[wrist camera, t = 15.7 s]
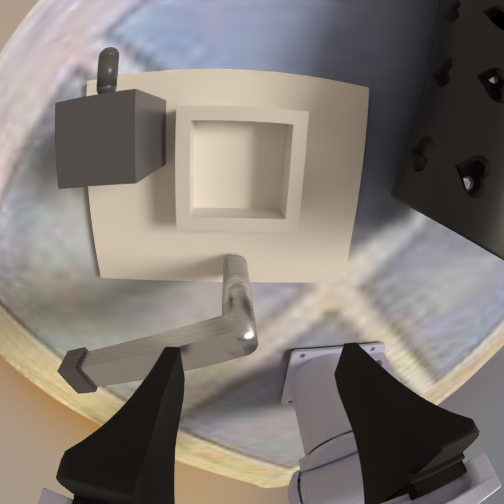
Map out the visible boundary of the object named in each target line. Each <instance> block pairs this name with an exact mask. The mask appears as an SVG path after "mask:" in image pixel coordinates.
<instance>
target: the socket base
mask: <svg viewBox="0 0 504 504" xmlns="http://www.w3.org/2000/svg"><path fill="white" fill-rule="evenodd" d="M96 87H97V79H95V80H90V81H87V93H86V96H91V95H96V94H98V93H97V90H96ZM130 89H138V90H141V91H143V92H146V93H149V94H151V95H154V96H157V97H159V98H162V99H164V100H166V165H164V166H162V167H161V168H159V169H158V170H156V171H154V172H153V173H151V174H150V175H148V176H147V177H145V178H144V179H142V180H141V181H139V182H138V183H136V184H117V185H101V186H88V193H89V203H90V212H91V220H92V228H93V235H94V242H95V248H96V254H97V259H98V265H99V270H100V275H101V278H112V279H135V280H163V281H200V282H223V263H224V261H225V259H226V258H227V257H229V256H231V255H240V256H242V257H244V258H245V259H246V261H247V265H248V273H249V280H250V282H343V277H344V273H345V268H346V263H347V259H348V254H349V248H350V243H351V238H352V232H353V227H354V221H355V215H356V209H357V203H358V196H359V189H360V182H361V174H362V166H363V158H364V149H365V139H366V128H367V116H368V101H369V88H368V87H364V86H359V85H355V84H350V83H346V82H341V81H335V80H330V79H324V78H318V77H312V76H305V75H298V74H290V73H281V72H270V71H258V70H240V69H183V70H166V71H153V72H143V73H134V74H126V75H119V76H117V89H116V91H122V90H130Z"/></svg>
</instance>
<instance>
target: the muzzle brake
mask: <svg viewBox="0 0 504 504" xmlns="http://www.w3.org/2000/svg"><path fill="white" fill-rule="evenodd" d="M492 77H494V80H495V83H491V82H490V81H489V80H488V79H490V78H492ZM463 178H468V179H469V180H470V187H469V189H466V187H465V184H464V181H463ZM391 195H392V197H393V198H395V199H396V200H398V201H400V202H402V203H403V204H405V205H407V206H409V207H411V208H413V209H414V210H416V211H418V212H420V213H422V214H424V215H425V216H427V217H429V218H431V219H433V220H435V221H436V222H438V223H440V224H442V225H444V226H445V227H447V228H449V229H451V230H452V231H454V232H456V233H458V234H459V235H461V236H463V237H465V238H466V239H468V240H470V241H472V242H473V243H475V244H477V245H478V246H480V247H482V248H483V249H485V250H487V251H489V252H490V253H492V254H494V255H495V256H497V257H499V258H501V259H502V260H504V0H440V8H439V15H438V22H437V28H436V34H435V40H434V46H433V51H432V56H431V61H430V65H429V70H428V74H427V79H426V83H425V87H424V91H423V95H422V99H421V102H420V106H419V110H418V113H417V117H416V120H415V124H414V127H413V130H412V133H411V137H410V140H409V143H408V146H407V149H406V152H405V155H404V158H403V161H402V164H401V167H400V170H399V173H398V175H397V178H396V181H395V184H394V186H393V189H392V192H391Z"/></svg>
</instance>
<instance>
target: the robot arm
mask: <svg viewBox="0 0 504 504" xmlns="http://www.w3.org/2000/svg"><path fill="white" fill-rule="evenodd" d="M385 347H386V345H385V343H384V342H377V343H369V344H360V345H358V344H357V343H347V344H344V346H340V347H328V348H314V349H298V350H294V351H292V352H291V354H290V359H289V364H288V369H287V374H286V379H285V384H284V388H283V393H282V398H281V403H282V404H284V405H289V404H294V407H295V412H296V416H297V421H298V425H299V430H300V434H301V439H302V443H303V448H304V453H305V457H304V458H301V459H299V464H300V469H301V470H298V471H296V472H295V473H294V474H293V476H292V478H291V481H290V483H289V486H288V499H289V504H479V503H480V502H481V501H483V500H484V499H486V498H487V497H488V496H490V495H491V494H492V493H494V492H495V491H496V490H497V489H499V488H500V487H501V485H500V482H499V480H498V478H497V476H496V474H495V472H494V470H493V468H492V466H491V464H490V462H489V460H488V459H487V457H486V455H485V453H484V452H482V453H481V454H479V455H477V456H476V457H474V458H473V459H471V460H469V461H468V462H466V463H465V464H463V462H462V460H463V459H464V458H465V456H464V454H463V451H464V450H466V448H468V447H469V446H470V445H471V444H472V443H473V442H474V441H475V439H476V438H477V437H478V436H479V432H480V431H479V430H478V428H477V426H476V425H475V423H474V421H473V420H472V419H470V418H467V417H464V416H461V415H458V414H455V413H452V412H450V411H447V410H445V409H443V408H441V407H439V406H437V405H435V404H433V403H431V402H429V401H427V400H425V399H424V398H422V397H420V396H419V395H417V394H416V393H414V392H413V391H411V390H410V389H408V388H407V387H406V386H404V385H403V384H402V383H401V381H400V380H399V378H398V376H397V374H396V373H395V371H394V369H393V367H392V366H391V364H390V362H389V360H388V359H387V357H386V355H385V353H384V350H385ZM301 354H303V355H301ZM184 380H185V377H184V371H183V365H182V358H181V351H180V347H167V346H166V347H165V348H164V349H163V351H162V353H161V354H160V356H159V358H158V360H157V361H156V363H155V364H154V366H153V368H152V369H151V371H150V372H149V374H148V375H147V376H146V378H145V379H144V381H143V382H142V384H141V385H140V386H139V388H138V389H137V390H136V391H135V393H134V394H133V395H132V396H131V398H130V399H129V400H128V401H127V402H126V403H125V405H124V406H123V407H122V408H121V409H120V410H119V411H118V412H117V413H116V414H115V415H114V416H113V417H112V418H111V419H110V420H108V421H107V422H106V423H105V424H104V425H103V426H102V427H100V428H99V429H98V430H96V431H95V432H94V433H93V434H91V435H90V436H89V437H87V438H86V439H84V440H83V441H82V442H80V443H78V444H76V445H75V446H73V447H71V448H70V449H68V450H66V451H65V453H64V455H63V457H62V459H61V462H60V465H59V469H58V472H57V476H56V478H57V480H58V482H59V483H60V484H61V485H63V486H64V487H65V488H66V489H68V490H69V491H70V492H72V493H73V494H74V499H73V500H72V499H70V498H68V497H65V496H63V495H60V494H58V493H55V492H53V491H50V490H48V489H46V488H43V489H42V492H41V496H40V500H39V504H175V502H174V464H175V463H174V462H175V445H176V437H177V432H178V426H179V420H180V415H181V409H182V403H183V396H184Z"/></svg>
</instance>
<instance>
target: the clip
mask: <svg viewBox="0 0 504 504" xmlns="http://www.w3.org/2000/svg"><path fill="white" fill-rule="evenodd" d="M166 346H167V347H180V351H181V358H182V365H183V371H187V370H192V369H196V368H200V367H205V366H209V365H213V364H217V363H221V362H224V361H228V360H232V359H236V358H239V357H243V356H247V355H249V354H251V353H253V352H254V351H255V350H256V348H257V346H258V339H257V332H256V325H255V317H254V310H253V303H252V295H251V288H250V280H249V273H248V265H247V261H246V259H245V258H244V257H242V256H240V255H231V256H229V257H227V258H226V259H225V261H224V263H223V292H222V316H218V317H215V318H212V319H208V320H205V321H202V322H198V323H195V324H191V325H188V326H184V327H181V328H177V329H174V330H170V331H166V332H163V333H159V334H155V335H152V336H148V337H144V338H140V339H136V340H133V341H129V342H125V343H121V344H117V345H113V346H108V347H104V348H100V349H96V350H91V351H88V350H87V349H86V348H85V347H83V348H79V349H75V350H71V351H68V352H67V354H66V356H65V358H64V360H63V361H62V363H61V365H60V367H59V369H58V373H59V374H60V375H61V376H62V377H63V378H64V379H65V380H66V381H67V383H68V384H69V385H70V386H71V387H72V388H73V389H74V390H75V391H76V392H77V393H78V394H80V393H89V392H96V390H97V387H99V386H106V385H113V384H120V383H126V382H132V381H138V380H143V379H145V378H146V376H147V375H148V374H149V372H150V371H151V369H152V368H153V366H154V364H155V363H156V361H157V360H158V358H159V356H160V354H161V353H162V351H163V349H164V348H165V347H166Z"/></svg>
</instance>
